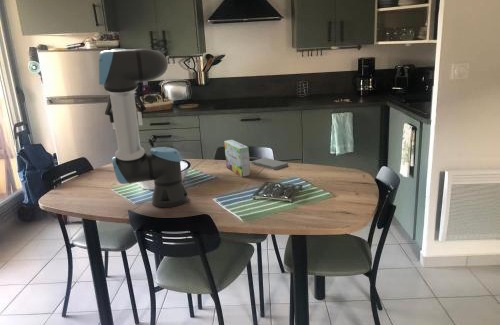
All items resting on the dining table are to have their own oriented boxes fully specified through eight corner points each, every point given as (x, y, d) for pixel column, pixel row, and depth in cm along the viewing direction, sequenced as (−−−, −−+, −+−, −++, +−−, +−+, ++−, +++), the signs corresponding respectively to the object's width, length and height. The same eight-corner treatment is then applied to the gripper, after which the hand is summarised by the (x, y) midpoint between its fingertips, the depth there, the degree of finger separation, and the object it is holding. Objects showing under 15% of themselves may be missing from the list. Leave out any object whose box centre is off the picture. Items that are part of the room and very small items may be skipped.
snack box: (225, 167, 218) (223, 140, 214) (234, 166, 220) (233, 139, 216) (241, 177, 200) (239, 148, 196) (251, 175, 202) (249, 146, 198)
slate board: (287, 165, 215) (287, 163, 215) (274, 169, 209) (274, 167, 209) (265, 160, 229) (264, 157, 228) (251, 164, 222) (251, 161, 222)
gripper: (142, 80, 200) (147, 122, 206) (93, 84, 184) (100, 130, 189) (149, 80, 195) (154, 123, 200) (100, 85, 179) (107, 131, 184)
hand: (128, 127), depth 195 cm, fingers open, 13 cm apart
